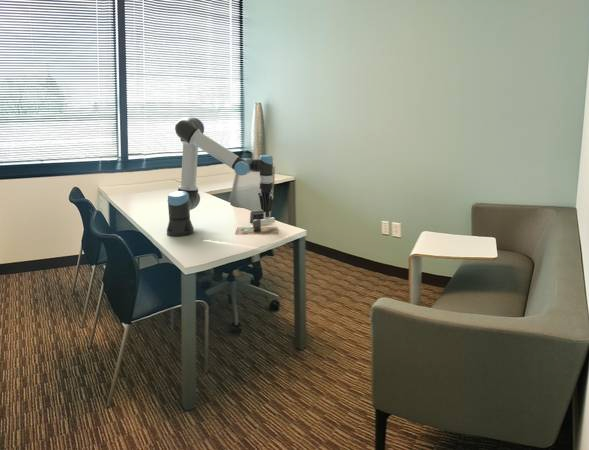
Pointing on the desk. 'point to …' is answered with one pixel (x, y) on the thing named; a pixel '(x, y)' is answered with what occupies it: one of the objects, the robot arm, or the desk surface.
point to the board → (263, 231)
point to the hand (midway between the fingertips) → (266, 222)
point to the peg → (260, 223)
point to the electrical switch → (256, 215)
